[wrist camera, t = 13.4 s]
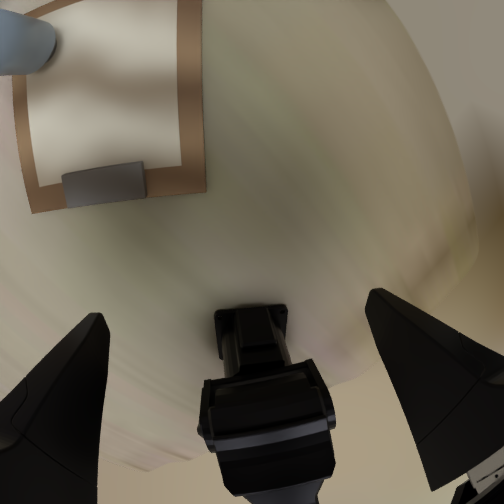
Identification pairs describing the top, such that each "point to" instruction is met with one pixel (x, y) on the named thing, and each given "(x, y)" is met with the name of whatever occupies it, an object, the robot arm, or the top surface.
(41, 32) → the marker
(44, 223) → the top surface
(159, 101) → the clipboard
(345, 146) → the top surface
